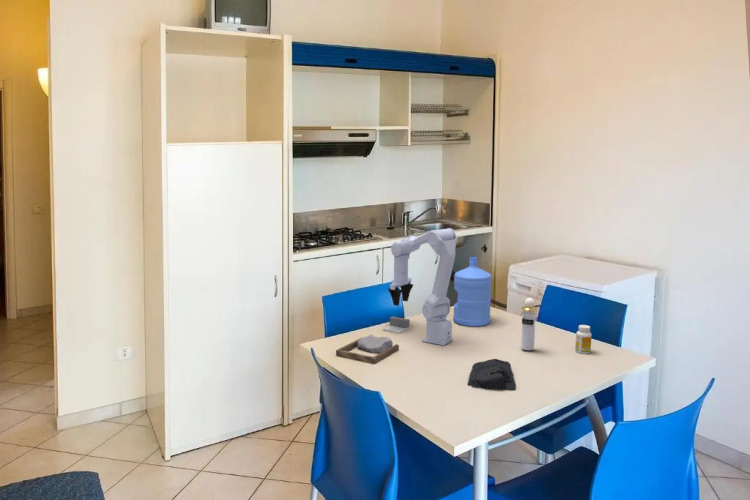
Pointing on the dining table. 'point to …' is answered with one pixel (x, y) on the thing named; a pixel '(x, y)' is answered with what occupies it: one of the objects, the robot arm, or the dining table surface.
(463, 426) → the dining table surface
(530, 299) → the perfume bottle
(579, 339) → the supplement bottle
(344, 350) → the dock
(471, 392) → the dining table surface
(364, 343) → the stone block
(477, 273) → the water jug
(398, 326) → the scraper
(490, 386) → the crumpled black cloth
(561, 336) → the dining table surface
